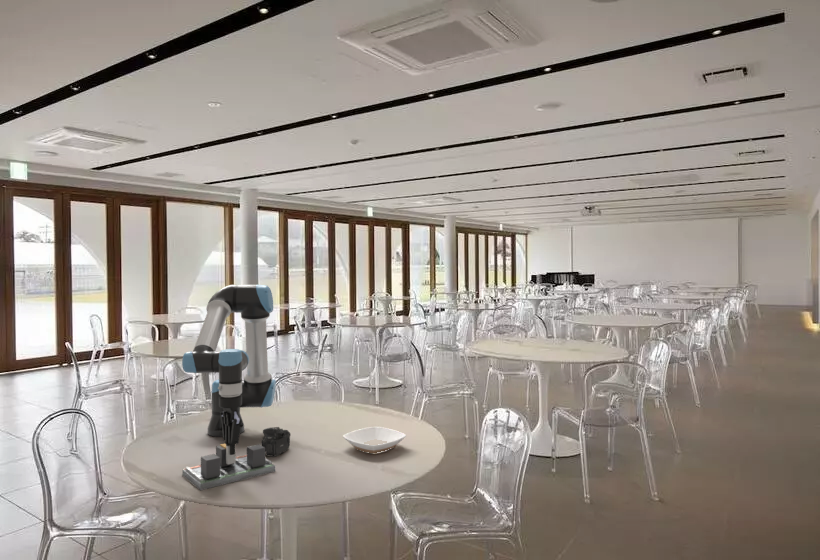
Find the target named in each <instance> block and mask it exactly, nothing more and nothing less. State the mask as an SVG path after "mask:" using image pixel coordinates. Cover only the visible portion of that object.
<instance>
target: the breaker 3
mask: <svg viewBox="0 0 820 560" xmlns="http://www.w3.org/2000/svg"><path fill="white" fill-rule="evenodd" d="M246 455H247V464H248V465H249V466H251V467H253V468H254V467H258V466H263V465H265V458H266V452H265V447H263V446H262V444H259V443H258V444H255V445H249V446H248V445H247V446H246Z"/></svg>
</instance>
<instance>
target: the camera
mask: <svg viewBox="0 0 820 560" xmlns="http://www.w3.org/2000/svg"><path fill="white" fill-rule="evenodd" d="M262 434H263V437H262V439H261V446H263V447H265V456H267V457H277V456H279V455H281V454H283V453H285V452H286V451H288V449H290V446H291V432H290V431H289V430H287V429H283V428H281V427H279V426H274V427H267V428H264V429H263V430H262Z"/></svg>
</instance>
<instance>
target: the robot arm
mask: <svg viewBox="0 0 820 560" xmlns="http://www.w3.org/2000/svg"><path fill="white" fill-rule="evenodd" d="M273 298H274V297H273V293H272V290H271V288H270V286H269V285H267V284H259V283H258V284H229V285H226V286H224V287H223V288H221V289H219V290H218V291H216V292H215V293H214V294H213V295H212V296H211V298H210V299H209V300H208V303H207V304H206V315H205V318H204V320H203V324H202V325H201V329H200V332H199V334H198V337H197V339H196V342H195V345H194V348H193V350H192V351H187V352H184V353H183V355H182V361H181V363H182V365H181V367H182V369H183V371H184V373H188V374H189V373H190V374H205V373H206V374H207V373H208V374H209V373H211V374H212V373H214V374H215V373H217V374H218V379H216V380H214V381H213V382H212V384H211V417H210V419H209V423H208V426H207V435H208V436H210V437H211V436H212V437H215V438H216V437H219V438H222V440H223V442H224V444H226V464H233V463H236V461H235V457H236V445H238V444H239V443H240V434H242V433H243V432H245V424H244V421H243V417H242V414H241V408H268V407H270V406H272V405H273V403H274V399H275V394H276V388H277V387H276V385H277V382H276V379H272V373H270V372H269V369H268V367H269V366H268V341H267V340H268V338H267V319H268V318H270V314H271V313H273V311H274V299H273ZM232 313H236V314H237V313H240V317H241V319H242V320H243V321H244V322H245V323H244V325H245V326H244V327H245V348H246V349H245V350H246V351H245V350H243V349H238V348H225V349H222V350H219V351H216V350H217V348H218V344H219V341H220V338H221V336H222V333H223V329H224V326H225V323H226V321H227V319H228V317H230V315H231V314H232ZM246 368H247V369H246ZM245 369H246V370H247V371H246V373H247V374H245V375H244V377H243V371H244V370H245Z"/></svg>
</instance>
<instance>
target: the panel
mask: <svg viewBox="0 0 820 560" xmlns="http://www.w3.org/2000/svg"><path fill="white" fill-rule="evenodd" d="M235 461H236V463H234V464H233V465H228V466H224V467H221V466H220V476H217V477H213V478H209V479H206V478H204V477H203V476H202V475H201V464H200V465H196V466H191V467H189V466H185V468H183V469H182V476H183V477H184V478H185V479H186V480H188V482H190V483H191V484H192V485H193V486H195V487H196V488H197V489H198V490H199V491H203V490H206V489H207V490H208V489H211V488H215V487H218V486H224V485H226V484H231V483H235V482H239V481H243V480H246V479H251V478H254V477H258V476H263V475H266V474H270V473H275V472H276V465H275V464H273V461H271V460H270V459H267V458H266V457H265V465H263V466H258V467H254V468H253V467H251V466H249V465H248V464H247V454H245V455H239V456H235Z"/></svg>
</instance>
